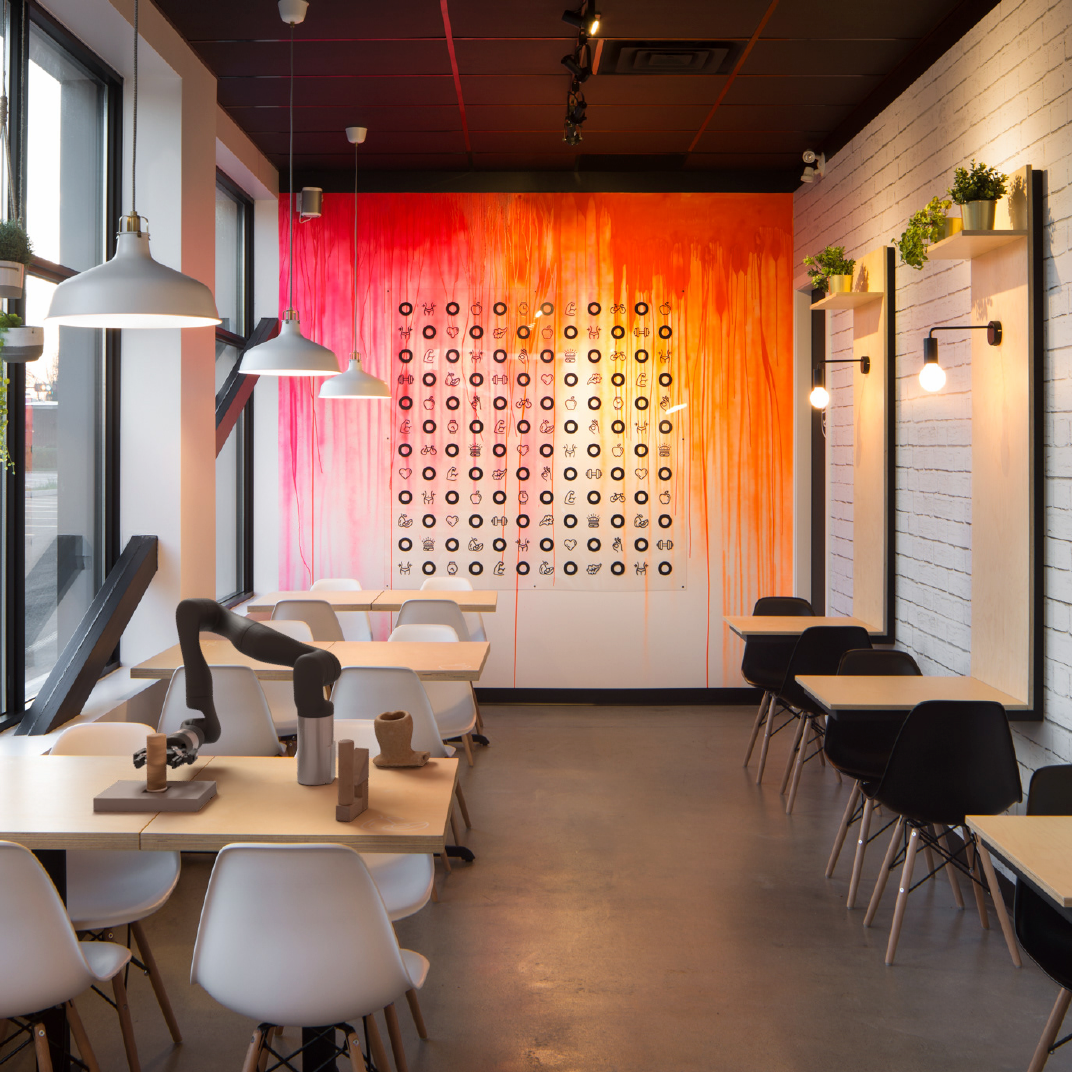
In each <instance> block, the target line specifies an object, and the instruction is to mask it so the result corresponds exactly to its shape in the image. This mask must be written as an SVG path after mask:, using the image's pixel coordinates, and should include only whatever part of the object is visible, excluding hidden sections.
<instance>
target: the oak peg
mask: <svg viewBox="0 0 1072 1072" xmlns="http://www.w3.org/2000/svg"><path fill="white" fill-rule="evenodd" d="M166 738H167V734H166V733H162V732H159V733H158V732H156V733H150V734H147V735H146V748H147V760H146V761H147V764H146V781H147V789H146V790H147V791H148V793H165V792H166V789H167V781H168V779H167V778H168V777H167V776H168V775H167V774H168V773H167V770H168V769H167V766H168V765H167V756H166Z"/></svg>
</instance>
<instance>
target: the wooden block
mask: <svg viewBox="0 0 1072 1072" xmlns="http://www.w3.org/2000/svg"><path fill="white" fill-rule="evenodd" d="M337 745H338V746H337V750H338V751H337V754H338V756H337V759H338V760H337V761H338V762H337V804H336V805H335V821H337V820H339V822H347V821H348V823H349V822H351V821H353V820H354V819H355V818H356V817H358V816H359V815H360V814H361V812H362V813H363V812H365V811H366V810H367V809H368V808H369V778H370V775H369V774H370V749H369V748H366V747H364V748H363V747H355V740H353V739H346V738H345V739H341V740H339V741H338V744H337ZM366 808H367V809H366ZM365 809H366V810H365ZM352 819H353V820H352Z"/></svg>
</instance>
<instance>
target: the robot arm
mask: <svg viewBox="0 0 1072 1072" xmlns="http://www.w3.org/2000/svg"><path fill="white" fill-rule="evenodd" d="M175 623H176V630H177V635H178V640H179V646H180V651H181V656H182V661H183V669H184V679H185V705H186V707H187V709H189V710H194V711H200V712H201V713H202V714H203V716H204V717H196V718H187V719H185V720H183V721H182V722H181V724H180V727H179V729H178V730H176V731H174V732H172V733H171V734H169V735H168V736H166V756H167V766H169V767H171V770H176V769H177V768H179V767H182V766H184V765H185V764H187V765H189V766H191V765H193V764H194V763H195V762H196V761H197V760H198V759H199V751H198V750H199V749H200V748H201V747H202V746H203V745H206V744H207V745H209V744H214V743H217V742H218V741H219V740H220V737H221V733H222V727H221V723H220V720H219V717H218V715H217V710H216V707H215V703H214V686H213V684H214V682H213V680H214V679H213V676H212V675H213V674H212V672H211V668H210V666H209V664H208V662H207V660H206V658H205V656H204V654H203V652H202V647H201V644H200V633H202V632H206V633H207V632H208V633H212V634H216V635H218V636H222V637H224V638H225V639H227V640H229V641H230V643H231V644H232V646H233V648H235V649H236V650H237V652H239V653H240V654H242V655H245V656H246V657H249V658H250V659H253V660H255V661H258V662H261V663H265V664H268V665H269V664H270V665H276V666H283V667H288V668H292V669H293V670H292V685H293V687H292V688H293V701H294V706H295V707H296V712H297V720H296V723H297V727H296V728H297V729H296V730H297V732H296V733H297V735H296V736H297V740H296V741H297V745H296V747H297V748H296V750H297V751H296V754H297V756H296V757H297V758H296V759H297V760H296V763H297V765H296V766H297V768H296V769H297V771H296V774H297V779H296V780H297V783H298V784H301V785H306V786H317V785H318V786H319V785H325V783H326V784H332V783H333V782H334V779H335V778H336V777H335V776H337V775H336V772H337V771H336V769H337V767H336V765H337V763H336V761H337V760H336V753H337V750H336V748H337V746H336V745H337V744H336V743H337V742H336V740H335V730H334V729H335V703H333V702H332V701H331V700H327V699H326V697H325V696H324V687H326V686H330V685H332V684H334V683H335V682H336V681H338V680H339V678H340V676H341V675H342V665H341V662H340V660H339V659H338V657H337V656H336V655H335V654H334V653H332V652H331V651H329V650H326V649H323V648H319V647H316V646H313V645H310V644H306V643H304V642H301V641H299V640H297V639H295V638H293V637H290V636H289V635H286V634H285V633H282V632H279V631H277V630H275V629H273V628H272V627H269V626H267V625H266V624H263V623H260V622H258V621H255V620H253V619H250V618H248V617H246V616H243V615H240V614H237V613H236V612H234V611H232V610H231V609H229V608H227V607H226V606H225V605H223V604H221V603H219V602H218V601H216V600H213V599H211V598H205V597H204V598H202V597H199V598H198V597H197V598H196V597H195V598H194V597H191V598H190V597H188V598H184V599H183V600H181V601H180V602H179V603H178V604H177V607H176V609H175ZM132 757H133V758H132V764H133V766H134V768H135V769H137V770H138V769H139V770H140V769H141V768H142V767H143V766H145V765H147V747H143V748H140V749H139V750H137V751H136V752H134V753H133V754H132Z"/></svg>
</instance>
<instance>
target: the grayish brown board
mask: <svg viewBox="0 0 1072 1072" xmlns="http://www.w3.org/2000/svg"><path fill="white" fill-rule="evenodd" d="M217 783H218V782H217V780H167V789H166V792H165V793H148V791H147V790H146V789H147V780H140V779H139V780H131V779H130V780H129V779H127V780H120V779H119V780H117V781H115V782H114V783H113V784H112V785H109V787H107V788H106V789H104V790H102V792H100V793H99V794H97V795H96V796H94V797H93V799H92V800H93V801H92V802H93V808H92V809H93V810H92V811H93V812H172V813H173V812H174V813H175V812H183V813H184V812H186V813H187V812H188V811H189V812H191V813H195V811H196V813H197V812H199V811H200V810H201V809H202V808H203V807H204V806H205V805H207V803H208V802H209V801H210V800H211V799H212V798H213V797H214V796H215V795H216V794H217V793H218V791H217V789H218V788H217V785H218V784H217ZM211 797H212V798H211ZM210 798H211V799H210ZM207 801H208V802H207ZM206 802H207V803H206ZM204 804H205V805H204ZM203 805H204V806H203ZM202 806H203V807H202ZM201 807H202V808H201ZM200 808H201V809H200ZM199 809H200V810H199ZM198 810H199V811H198ZM192 811H193V812H192Z"/></svg>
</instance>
